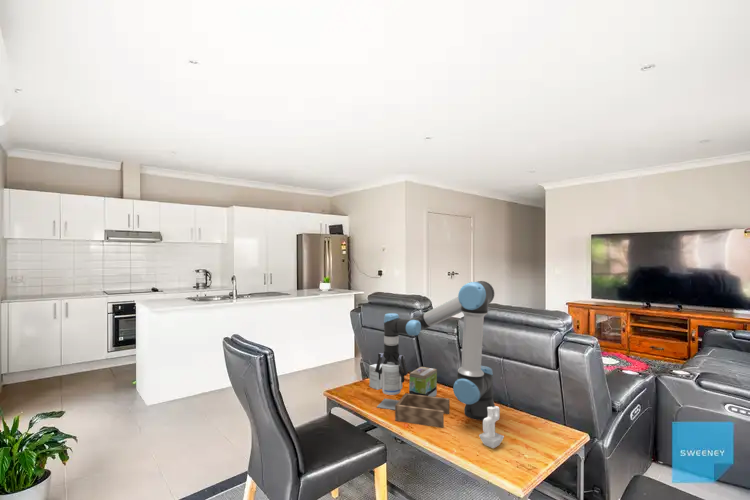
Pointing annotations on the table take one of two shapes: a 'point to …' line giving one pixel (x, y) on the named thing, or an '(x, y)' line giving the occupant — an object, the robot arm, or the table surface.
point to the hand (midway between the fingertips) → (391, 387)
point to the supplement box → (374, 377)
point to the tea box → (423, 382)
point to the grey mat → (388, 404)
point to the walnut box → (422, 410)
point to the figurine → (491, 428)
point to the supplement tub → (390, 379)
